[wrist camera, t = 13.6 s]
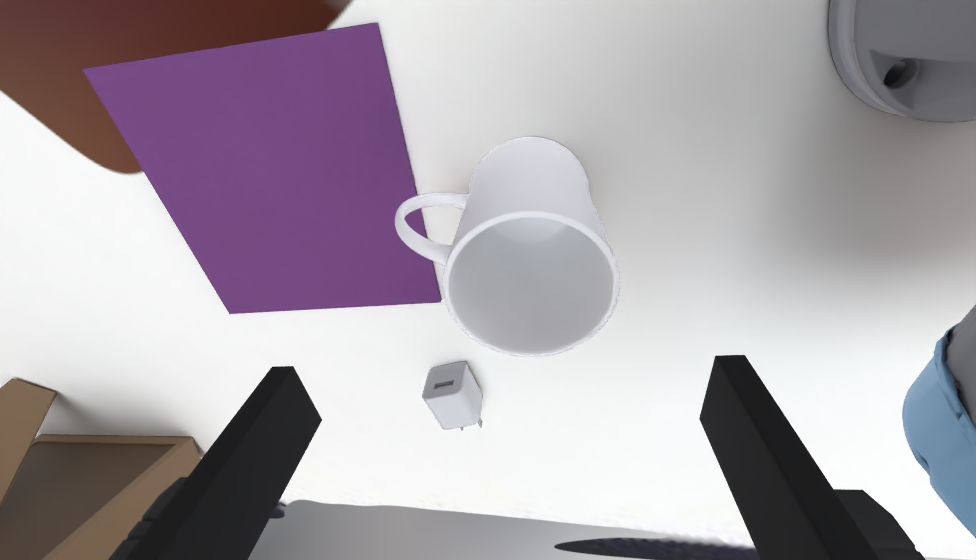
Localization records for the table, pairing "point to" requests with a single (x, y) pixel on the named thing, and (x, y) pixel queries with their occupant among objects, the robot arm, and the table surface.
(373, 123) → the cloth
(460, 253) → the mug
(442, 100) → the table surface
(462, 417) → the usb wall charger
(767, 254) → the table surface
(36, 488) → the photo frame
